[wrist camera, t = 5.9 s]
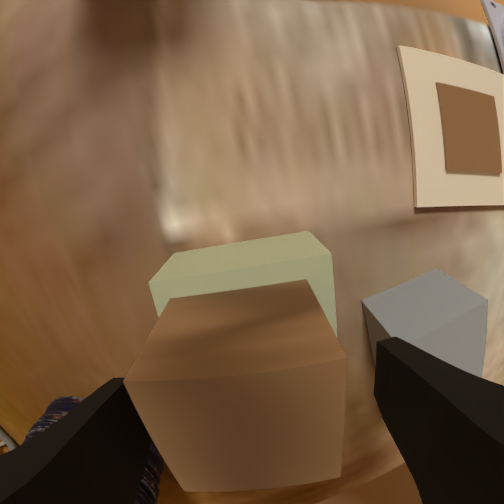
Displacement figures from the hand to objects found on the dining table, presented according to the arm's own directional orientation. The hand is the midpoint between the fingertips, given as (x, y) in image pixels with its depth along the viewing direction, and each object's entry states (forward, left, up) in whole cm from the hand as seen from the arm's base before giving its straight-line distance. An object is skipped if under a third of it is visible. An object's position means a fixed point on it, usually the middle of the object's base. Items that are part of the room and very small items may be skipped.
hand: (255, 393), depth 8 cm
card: (-12, -8, -6) cm, 16 cm away
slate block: (-8, +2, -6) cm, 10 cm away
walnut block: (0, 0, -2) cm, 3 cm away
